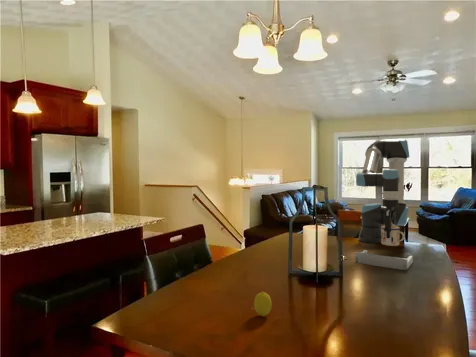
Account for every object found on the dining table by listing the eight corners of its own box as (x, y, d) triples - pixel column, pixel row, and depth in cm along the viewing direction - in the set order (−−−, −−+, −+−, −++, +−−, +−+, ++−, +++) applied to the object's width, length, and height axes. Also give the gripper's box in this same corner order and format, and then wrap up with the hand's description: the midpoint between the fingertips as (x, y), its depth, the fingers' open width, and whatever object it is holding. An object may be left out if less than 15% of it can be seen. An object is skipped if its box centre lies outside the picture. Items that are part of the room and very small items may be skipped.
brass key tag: (338, 257, 178) (338, 255, 178) (346, 257, 177) (346, 255, 177) (338, 260, 171) (338, 258, 171) (347, 261, 170) (347, 259, 170)
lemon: (260, 311, 112) (260, 287, 112) (275, 315, 109) (274, 291, 109) (250, 317, 108) (250, 292, 108) (265, 322, 105) (264, 296, 104)
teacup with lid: (377, 243, 179) (377, 221, 179) (387, 241, 185) (387, 220, 184) (399, 248, 170) (399, 224, 169) (408, 245, 175) (409, 222, 175)
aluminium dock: (364, 255, 181) (364, 246, 180) (412, 262, 167) (412, 252, 167) (355, 262, 168) (355, 252, 167) (406, 270, 154) (406, 259, 154)
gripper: (387, 197, 188) (387, 238, 189) (377, 200, 172) (377, 245, 172) (402, 198, 184) (402, 240, 184) (394, 201, 167) (393, 247, 168)
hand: (390, 242), depth 178 cm, fingers closed on teacup with lid, 7 cm apart
